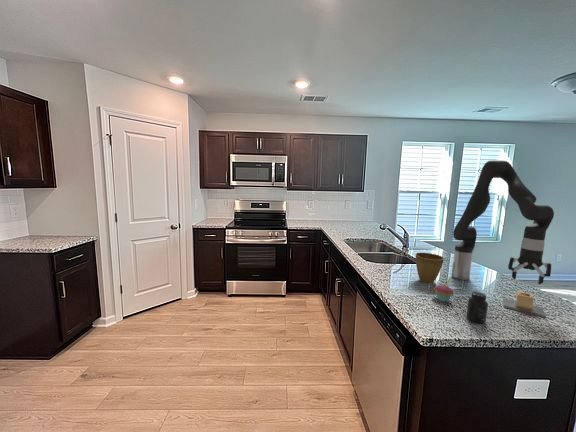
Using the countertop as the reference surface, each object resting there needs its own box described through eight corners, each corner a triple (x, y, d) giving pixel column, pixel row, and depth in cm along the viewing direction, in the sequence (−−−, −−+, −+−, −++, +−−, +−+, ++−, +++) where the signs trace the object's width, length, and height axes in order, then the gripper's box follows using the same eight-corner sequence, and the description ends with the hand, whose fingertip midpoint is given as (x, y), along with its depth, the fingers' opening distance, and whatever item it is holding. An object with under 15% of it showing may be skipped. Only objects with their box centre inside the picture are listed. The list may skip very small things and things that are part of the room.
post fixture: (504, 307, 119) (505, 295, 119) (503, 300, 127) (504, 289, 126) (545, 317, 111) (547, 304, 110) (541, 309, 118) (543, 297, 118)
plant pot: (414, 283, 146) (416, 257, 144) (412, 275, 160) (414, 251, 158) (443, 288, 141) (446, 260, 139) (438, 279, 155) (441, 254, 153)
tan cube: (515, 306, 118) (517, 294, 118) (514, 302, 123) (516, 291, 122) (531, 310, 115) (533, 298, 114) (530, 306, 119) (532, 294, 118)
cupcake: (450, 297, 129) (452, 275, 128) (455, 304, 121) (457, 281, 120) (431, 294, 132) (433, 272, 131) (435, 301, 124) (437, 278, 123)
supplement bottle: (462, 316, 110) (465, 290, 109) (476, 316, 111) (479, 290, 109) (474, 325, 103) (478, 297, 102) (490, 324, 104) (493, 297, 103)
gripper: (512, 246, 117) (507, 279, 119) (555, 252, 108) (549, 288, 110) (511, 243, 122) (506, 275, 125) (552, 249, 114) (546, 283, 116)
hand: (526, 281), depth 117 cm, fingers open, 8 cm apart
